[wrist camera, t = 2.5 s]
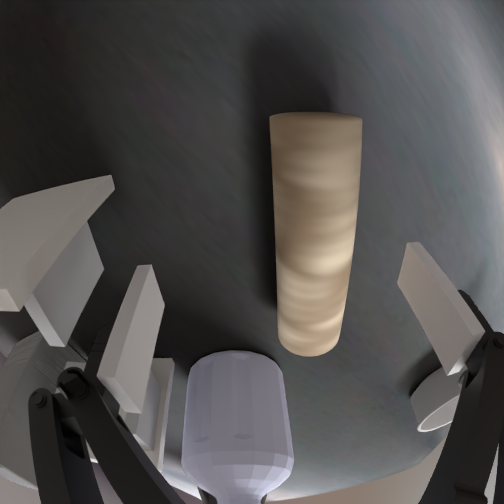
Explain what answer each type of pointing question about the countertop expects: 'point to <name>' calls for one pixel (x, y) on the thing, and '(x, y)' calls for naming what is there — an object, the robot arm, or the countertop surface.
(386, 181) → the countertop surface
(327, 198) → the rail
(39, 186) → the countertop surface
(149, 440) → the bracket
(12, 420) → the skincare box
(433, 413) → the saucepan
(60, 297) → the bracket
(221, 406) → the soap bottle
